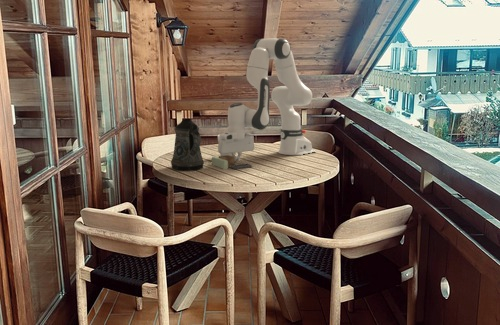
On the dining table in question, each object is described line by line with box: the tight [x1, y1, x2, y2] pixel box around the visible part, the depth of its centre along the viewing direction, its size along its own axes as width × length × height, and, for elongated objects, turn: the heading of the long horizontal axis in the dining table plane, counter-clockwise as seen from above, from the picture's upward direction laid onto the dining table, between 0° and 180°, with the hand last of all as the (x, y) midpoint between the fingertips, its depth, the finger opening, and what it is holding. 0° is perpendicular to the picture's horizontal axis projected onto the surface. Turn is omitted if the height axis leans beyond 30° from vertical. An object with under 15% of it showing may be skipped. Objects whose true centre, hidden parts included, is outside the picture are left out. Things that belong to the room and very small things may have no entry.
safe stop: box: [211, 155, 229, 170], centre depth 259 cm, size 2×14×4 cm, turn 30°
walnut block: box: [218, 155, 235, 168], centre depth 261 cm, size 6×6×5 cm
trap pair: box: [229, 161, 253, 170], centre depth 263 cm, size 10×21×1 cm, turn 31°
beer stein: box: [170, 118, 205, 172], centre depth 253 cm, size 16×19×25 cm
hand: (236, 160), depth 264 cm, fingers closed
